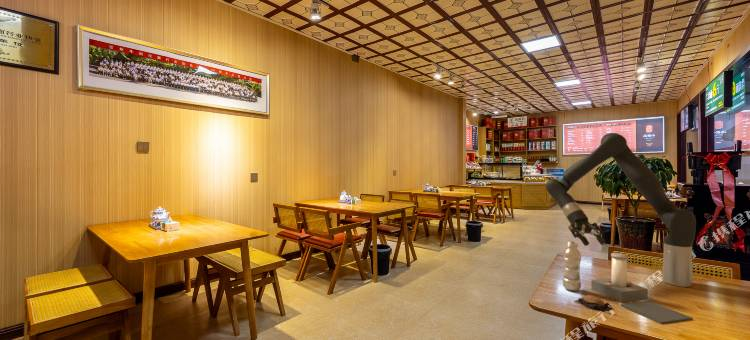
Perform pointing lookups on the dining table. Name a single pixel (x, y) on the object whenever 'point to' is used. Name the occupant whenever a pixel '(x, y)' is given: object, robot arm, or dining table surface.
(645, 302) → the rubber mat
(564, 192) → the robot arm
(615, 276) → the cylinder
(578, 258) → the plastic bottle
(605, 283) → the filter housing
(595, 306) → the dark brown curved piece
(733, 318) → the dining table surface
